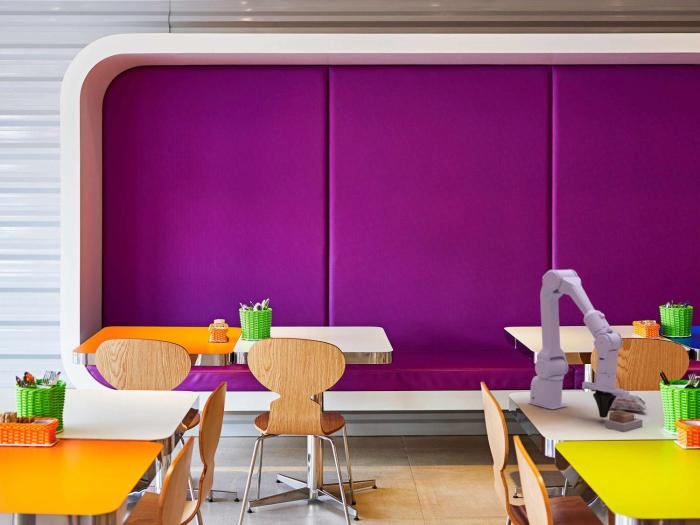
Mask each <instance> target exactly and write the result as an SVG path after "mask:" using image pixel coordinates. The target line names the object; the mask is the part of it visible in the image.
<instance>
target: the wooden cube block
mask: <svg viewBox="0 0 700 525" xmlns="http://www.w3.org/2000/svg"><path fill="white" fill-rule="evenodd" d="M608 415H609V418H608V420H611V421H615V422H619V423H626V422H629V421H633V420H634V418H635V413H631V412H629V411H622V410H614V411H609V413H608Z"/></svg>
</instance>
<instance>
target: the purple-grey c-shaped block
mask: <svg viewBox="0 0 700 525" xmlns="http://www.w3.org/2000/svg"><path fill="white" fill-rule="evenodd" d="M643 422H644V420H643V419H641V418H637V417H634V420H633V421H629V422H626V423H619V422H615V421H611V420H609V419H605V421H604V428H608V429H610V430H614V429H615V431H618V432H623V433H624V432H628V431H631V430H634V429H638V428H641V427H643Z"/></svg>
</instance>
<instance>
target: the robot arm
mask: <svg viewBox="0 0 700 525" xmlns="http://www.w3.org/2000/svg"><path fill="white" fill-rule="evenodd" d="M541 281H542V286H541V289H540V294H539V298H540V319H541V320H540V321H541V341H542V342H541V343H542V344H541V345H542V348H541V349H540V351H539V352H538V353H537V354H536V362H535V366H534V370H535V373H536V376H535V375H534V376H533V378H532V380H531V383H530V395H529V398H530V399H529V401H528V404H530V405H535V406H537V407H540V408H541V407H542V408H545V409H549V410H557V409H561V408H565V407H568V406H567V404H565V403H562V397H563V382H564V379H565V375H566V374H567V373H568V371H569V363H568V361H567V357H566V353H565V351H564V350H563V349H562V348H561V337H560V318H559V317H560V315H559V312H560V311H559V310H560V308H559V298H561V297H562V296H563V295H564V294H565V295H568V296H570V298H571V299H572V301H573V302H574V303H575V304H576V305H577V306H576V307H578V309H579V310H580V312H581V313H582V314H583V315H584V317H583V323H584V325H585V326H586V328H587V329H588V330H589V332H590V334H591V335H592V337H593V339H594V340H593V345H594V349H595V350H596V355H597V358H596V373H595V374H596V375H595V382H591V381H589V382H588V381H582V386H581V388H582V389H583V390H591V391H594V393H593V394H592V395H593V398H594V400H595V402H596V406H597V409H598V414H599V417H600V418H601V419H602V418H603V419H605V418H608V415H609V413H610V410H611V408H612V407H611V405H612V403H613V402H614V400H615V399H616V397H617V396H619V397H622V398H625V399H626V398H629V395H630V391H629V390H625V389H622V388H620V387H617V386H616V384H617V372H618V371H617V370H618V358H619V357H618V356H619V350H620V349H621V348H622V346H623V338H622V335H621V333H620V332H618V331H616V330H614V329H613V327H611V326H610V324H609V322H608V321H607V319H606V318H605V316H606V315H605V314H604V313H603V312H601V311H600V310H596V309H595V308H594V306H593V304H592V303H591V301H590V299H589V297H588V295H587V294H586V293H587V292H585V289H584V288H583V285H582V280H581V278H580V277H579V276H578V273H577V272H576V271H575V270H574V269H571V268H569V269H549V270H548V271H546V273H545V274H544V275H543V276H542V280H541Z"/></svg>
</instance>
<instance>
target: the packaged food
mask: <svg viewBox="0 0 700 525" xmlns="http://www.w3.org/2000/svg"><path fill="white" fill-rule="evenodd" d="M646 404H647V403H646V402H645V401H644V400H643V399H642V398H641V397H640V396H638V395H634V394H629V398H626V399H625V398H622V397H619V396H617V397H616V399H615V400H614V402H613V403H612V405H611V407H610V408H612V409H614V410H616V411H618V410H620V411H624V412H640V411H644V410H646V408H647V406H646Z"/></svg>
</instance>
